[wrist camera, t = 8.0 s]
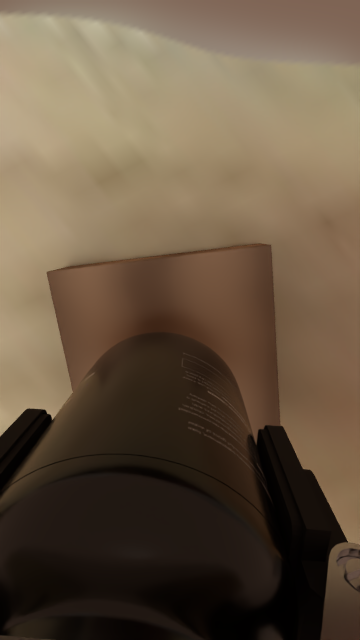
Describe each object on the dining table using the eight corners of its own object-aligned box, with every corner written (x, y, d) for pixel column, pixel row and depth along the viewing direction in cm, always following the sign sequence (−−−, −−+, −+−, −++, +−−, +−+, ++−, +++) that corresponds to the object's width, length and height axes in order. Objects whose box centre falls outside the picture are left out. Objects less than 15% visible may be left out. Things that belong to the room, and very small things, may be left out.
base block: (259, 243, 20) (271, 244, 17) (270, 419, 23) (281, 447, 20) (67, 266, 20) (46, 272, 18) (101, 433, 23) (88, 461, 20)
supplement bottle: (66, 345, 14) (-579, 910, 2) (223, 312, 13) (447, 854, 2) (110, 478, 16) (-134, 1201, 4) (252, 454, 15) (464, 1227, 3)
